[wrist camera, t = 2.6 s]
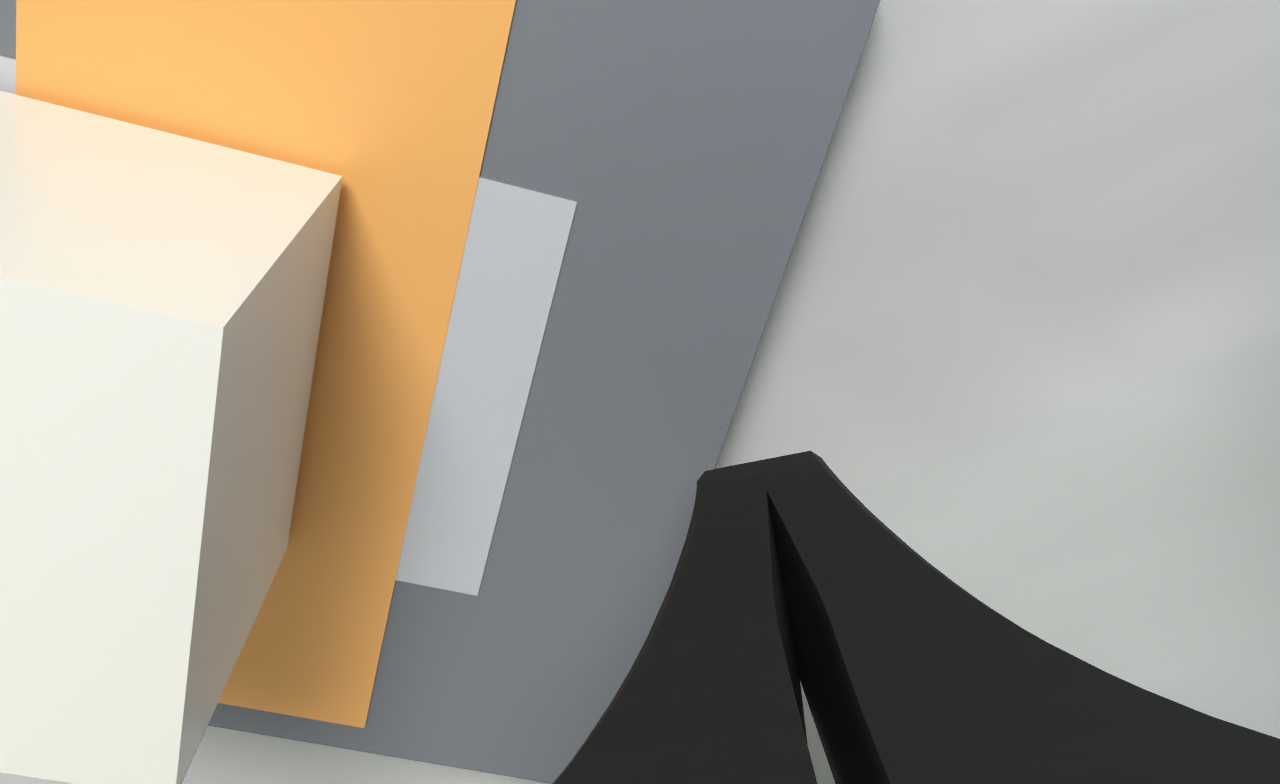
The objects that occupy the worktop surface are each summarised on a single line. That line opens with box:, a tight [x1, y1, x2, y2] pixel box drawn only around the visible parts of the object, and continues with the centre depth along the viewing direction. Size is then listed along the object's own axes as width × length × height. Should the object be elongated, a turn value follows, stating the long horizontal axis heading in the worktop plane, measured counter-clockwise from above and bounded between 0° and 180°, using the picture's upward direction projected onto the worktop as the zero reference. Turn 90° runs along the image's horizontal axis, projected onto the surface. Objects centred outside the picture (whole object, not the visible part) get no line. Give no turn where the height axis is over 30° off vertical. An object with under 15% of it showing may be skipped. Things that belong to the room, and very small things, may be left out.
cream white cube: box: [0, 91, 343, 784], centre depth 10 cm, size 4×5×4 cm
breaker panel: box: [0, 0, 880, 784], centre depth 12 cm, size 17×12×1 cm
